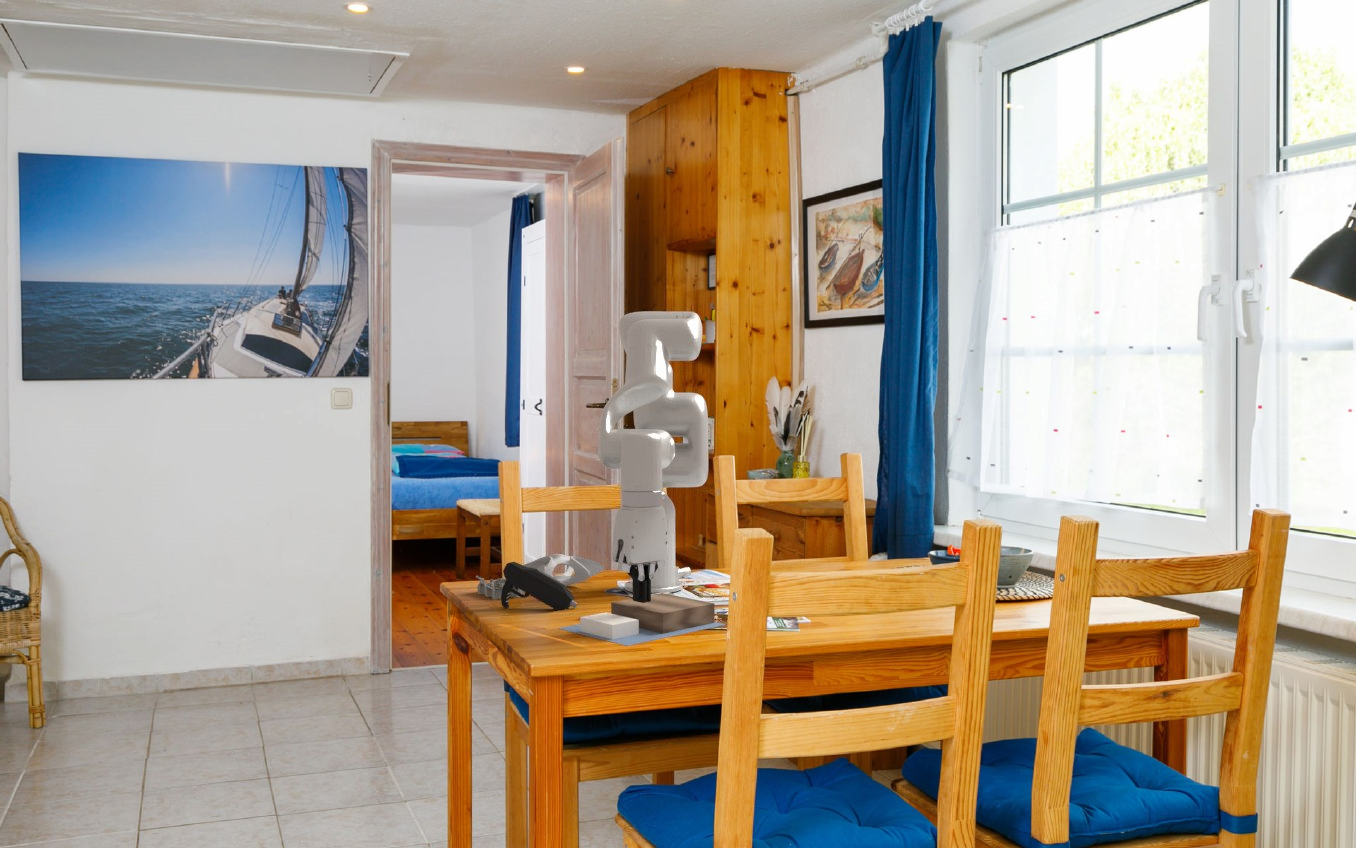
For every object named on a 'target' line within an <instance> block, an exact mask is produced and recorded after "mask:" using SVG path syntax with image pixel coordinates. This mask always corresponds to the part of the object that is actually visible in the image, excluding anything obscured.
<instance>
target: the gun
mask: <svg viewBox="0 0 1356 848" xmlns="http://www.w3.org/2000/svg"><path fill="white" fill-rule="evenodd" d="M523 565H524V564H520V563H518V562H516V561H511V562H507V563H506V564H505V566H504V568H503V569H502V573H503V577H504V578H506V581H505V584H504V586H503V588H502V593H501V599H500V601H501V606H502V607H503V608H505V609H509V608H510V605H509V599H510V598H508V597H509V596H510V595H509V593H510V592H513V593H514V594H516V595H518V596H520V597H519V598H523V599H524V598H528V597H530V596H531V597H533V598H534V599H536V600H538V601H539V602H541V603H543V604H544V605H547V606H548V607H550V608H552V609H554V610H555V611H557V612H559V611H566V610H570V608H571V607H572V608H574V609H575V608H576V607H577V606H578V602H576V601H575V600H574V599H575V596H574V595H573V593H572V591H571V590H570V589H569V588H568V587H567V586H565V585H563V584H562V583H560V582H561V581H559V580H557V579H555V578H554V577H552V576H550V575H548V574H547V573H545V572H543V571H541V570H537V569H535V568H529V567H525V566H523ZM513 586H515V587H516V590H517V591H518V588H519V589H520V590H522V591H523V594H521V593H519V592H517V591H516V590H514V589H512V588H513Z"/></svg>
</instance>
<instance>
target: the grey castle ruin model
mask: <svg viewBox="0 0 1356 848" xmlns="http://www.w3.org/2000/svg"><path fill="white" fill-rule="evenodd" d="M475 579H478V581H480V582H479V583H478V584H477V585H476V586H477V587H476V589H477V594H478V595H479V594H485V595H484V597H485V596H486V597H487V598H491V600H501V593H502V588H503V586H504V584H505V581H506V578H505V577H503V578H502V577H501V578H497V579H496V580H494V579H493V578H490V580H489V582H487V581H485V578H483V577H480V576H479V575H476V576H475ZM512 589H514V590H516V587H515V586H513V588H512ZM516 591H517V590H516ZM517 592H519V593H521V594H523V595H524V591H522V590H520V589H519V588H518V591H517ZM509 595H510V596H509V597H511V598H513V597H514V598H515V599H517V598H521V597H520V596H518V595H516V594H514V593H513V592H510V593H509ZM509 597H508V598H509ZM509 599H510V598H509Z"/></svg>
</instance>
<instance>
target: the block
mask: <svg viewBox="0 0 1356 848" xmlns="http://www.w3.org/2000/svg"><path fill="white" fill-rule="evenodd" d="M715 607H716V606H715V602H709V601H704V600H699V599H694V598H688V597H683V596H679V595H674V594H669V593H656V594H651V601H650V602H646V603H641V602H636V601H633V598H628V599H623V600H617V601H612V602H610V613H611V614H615V615H619V616H624V617H628V618H633V619H637V620H639V628H640V629H645V630H649V631H653V632H658V633H662V634H664V633H669V632H673V631H678V630H683V629H688V628H692V627H697V626H702V625H706V624H711V623H715V622H716V621H715V620H716V619H715Z"/></svg>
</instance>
